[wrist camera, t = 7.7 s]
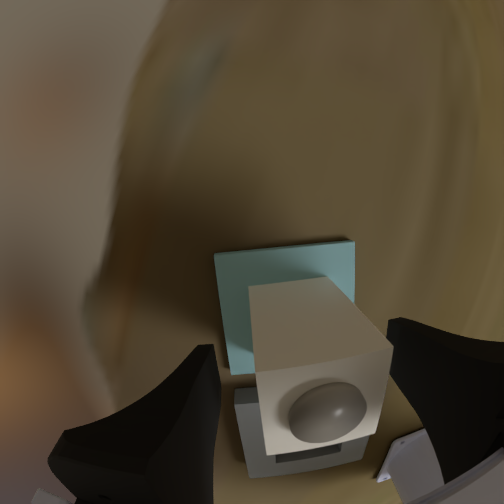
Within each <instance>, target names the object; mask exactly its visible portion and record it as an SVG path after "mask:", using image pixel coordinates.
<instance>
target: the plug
mask: <svg viewBox="0 0 504 504" xmlns="http://www.w3.org/2000/svg"><path fill="white" fill-rule="evenodd" d="M248 290H249V302H250V315H251V328H252V340H253V352H254V365H255V375H256V383H257V390H258V397H259V405H260V412H261V419H262V426H263V433H264V440H265V447H266V454H267V455H275V454H283V453H290V452H296V451H302V450H308V449H314V448H319V447H323V446H328V445H333V444H337V443H341V442H345V441H349V440H353V439H357V438H360V437H364V436H367V435H370V434H374V433H375V432H376V428H377V425H378V421H379V417H380V413H381V409H382V405H383V400H384V396H385V391H386V387H387V382H388V377H389V371H390V366H391V360H392V354H393V347H394V346H393V345H392V344H391V343H390V342H389V341H388V340H387V339H386V338H385V336H384V335H383V334H382V333H381V332H380V331H379V330H378V329H377V328H376V327H375V326H374V325H373V324H372V322H371V321H370V320H369V319H368V318H367V317H366V316H365V315H364V314H363V313H362V312H361V311H360V310H359V309H358V308H357V306H356V305H355V304H354V303H353V302H352V301H351V300H350V299H349V298H348V297H347V296H346V295H345V294H344V293H343V292H342V291H341V290H340V289H339V288H338V287H337V286H336V285H335V284H334V283H333V282H332V280H331V279H330V278H329V277H328V276H326V277H319V278H311V279H304V280H296V281H288V282H280V283H272V284H263V285H254V286H248Z"/></svg>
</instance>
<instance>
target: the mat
mask: <svg viewBox="0 0 504 504" xmlns="http://www.w3.org/2000/svg"><path fill="white" fill-rule="evenodd" d="M214 261H215V269H216V277H217V284H218V292H219V299H220V306H221V313H222V320H223V327H224V333H225V340H226V346H227V352H228V359H229V365H230V371H231V375H238V374H250V373H255V365H254V352H253V340H252V328H251V315H250V302H249V290H248V286H254V285H263V284H272V283H280V282H288V281H296V280H304V279H311V278H319V277H326V276H328V277H329V278H330V279H331V280H332V282H333V283H334V284H335V285H336V286H337V287H338V288H339V289H340V290H341V291H342V292H343V293H344V294H345V295H346V296H347V297H348V298H349V299H350V300H351V301H352V302H353V303H354V287H355V242H354V241H352V240H346V241H336V242H325V243H315V244H304V245H294V246H284V247H273V248H263V249H253V250H243V251H232V252H222V253H215V254H214Z"/></svg>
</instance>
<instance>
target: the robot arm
mask: <svg viewBox="0 0 504 504" xmlns="http://www.w3.org/2000/svg"><path fill="white" fill-rule="evenodd" d="M386 339H387V340H388V341H389V342H390V343H391V344H392V345H393V346H394V347H393V354H392V360H391V366H390V371H389V373H390V375H391V377H392V378H393V380H394V381H395V383H396V384H397V386H398V387H399V389H400V390H401V391H402V393H403V394H404V396H405V397H406V398H407V400H408V401H409V403H410V404H411V405H412V407H413V408H414V410H415V411H416V413H417V414H418V416H419V418H420V420H421V422H422V424H423V426H424V429H422V430H419V431H417V432H414V433H412V434H409V435H407V436H404V437H401V438H399V439H396V440H395V441H393V443H392V444H391V447H390V449H389V452H388V454H387V456H386V459H385V461H384V463H383V466H382V468H381V470H380V472H379V474H378V476H377V478H376V481H377V482H381V481H384V480H387V479H390V478H391V479H392V481H393V483H394V485H395V487H396V489H397V492H398V494H399V496H400V498H401V500H402V502H403V504H504V342H496V341H485V340H479V339H473V338H468V337H464V336H460V335H456V334H452V333H449V332H446V331H443V330H440V329H437V328H434V327H431V326H428V325H425V324H422V323H419V322H416V321H413V320H410V319H406V318H402V317H399V318H395V319H390V320H388V328H387V336H386ZM220 407H221V381H220V376H219V371H218V366H217V361H216V356H215V350H214V345H213V344H205V345H197V347H196V348H195V349H194V350H193V351H192V352H191V353H190V354H189V355H188V356H187V358H186V359H185V360H184V361H183V362H182V363H181V364H180V365H179V366H178V367H177V368H176V369H175V371H174V372H173V373H171V374H170V375H169V376H168V377H167V378H166V379H165V380H164V381H163V382H162V383H161V384H160V385H158V386H157V387H156V388H155V389H153V390H152V391H151V392H149V393H148V394H147V395H145V396H144V397H142V398H141V399H139V400H138V401H136V402H134V403H133V404H131V405H129V406H128V407H126V408H124V409H122V410H120V411H119V412H117V413H114V414H112V415H110V416H108V417H106V418H103V419H101V420H98V421H95V422H93V423H90V424H86V425H83V426H79V427H76V428H72V429H69V430H64V432H63V433H62V435H61V437H60V438H59V440H58V442H57V443H56V445H55V447H54V449H53V450H52V452H51V454H50V455H49V457H48V464H49V467H50V469H51V471H52V472H53V473H54V475H55V476H56V477H57V478H58V479H59V480H60V481H61V483H62V484H63V485H64V486H65V487H66V488H67V489H68V490H69V491H70V492H71V493H73V494H74V496H75V497H77V499H76V502H75V504H213V457H214V447H215V440H216V434H217V427H218V421H219V414H220ZM31 504H72V503H71V502H69V501H67V500H65V499H63V498H61V497H59V496H56V495H54V494H52V493H49V492H47V491H45V490H42V489H38V490H37V492H36V494H35V496H34V498H33V500H32V502H31Z"/></svg>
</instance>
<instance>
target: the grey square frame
mask: <svg viewBox="0 0 504 504" xmlns="http://www.w3.org/2000/svg"><path fill="white" fill-rule="evenodd" d="M234 406H235V411H236V416H237V421H238V426H239V431H240V436H241V441H242V446H243V451H244V455H245V460H246V464H247V469H248V473H249V478H261V477H272V476H281V475H288V474H295V473H302V472H308V471H313V470H319V469H324V468H328V467H333V466H337V465H341V464H345V463H349V462H353V461H357V460H360V459H362V457H363V454H364V451H365V448H366V445H367V442H368V438H369V435H367V436H364V437H360V438H357V439H353V440H349V441H345V442H341V443H337V444H333V445H328V446H323V447H319V448H314V449H308V450H302V451H296V452H290V453H283V454H275V455H267V454H266V447H265V440H264V433H263V426H262V419H261V412H260V405H259V397H258V390H257V387H250V388H237V389H235V393H234Z"/></svg>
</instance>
